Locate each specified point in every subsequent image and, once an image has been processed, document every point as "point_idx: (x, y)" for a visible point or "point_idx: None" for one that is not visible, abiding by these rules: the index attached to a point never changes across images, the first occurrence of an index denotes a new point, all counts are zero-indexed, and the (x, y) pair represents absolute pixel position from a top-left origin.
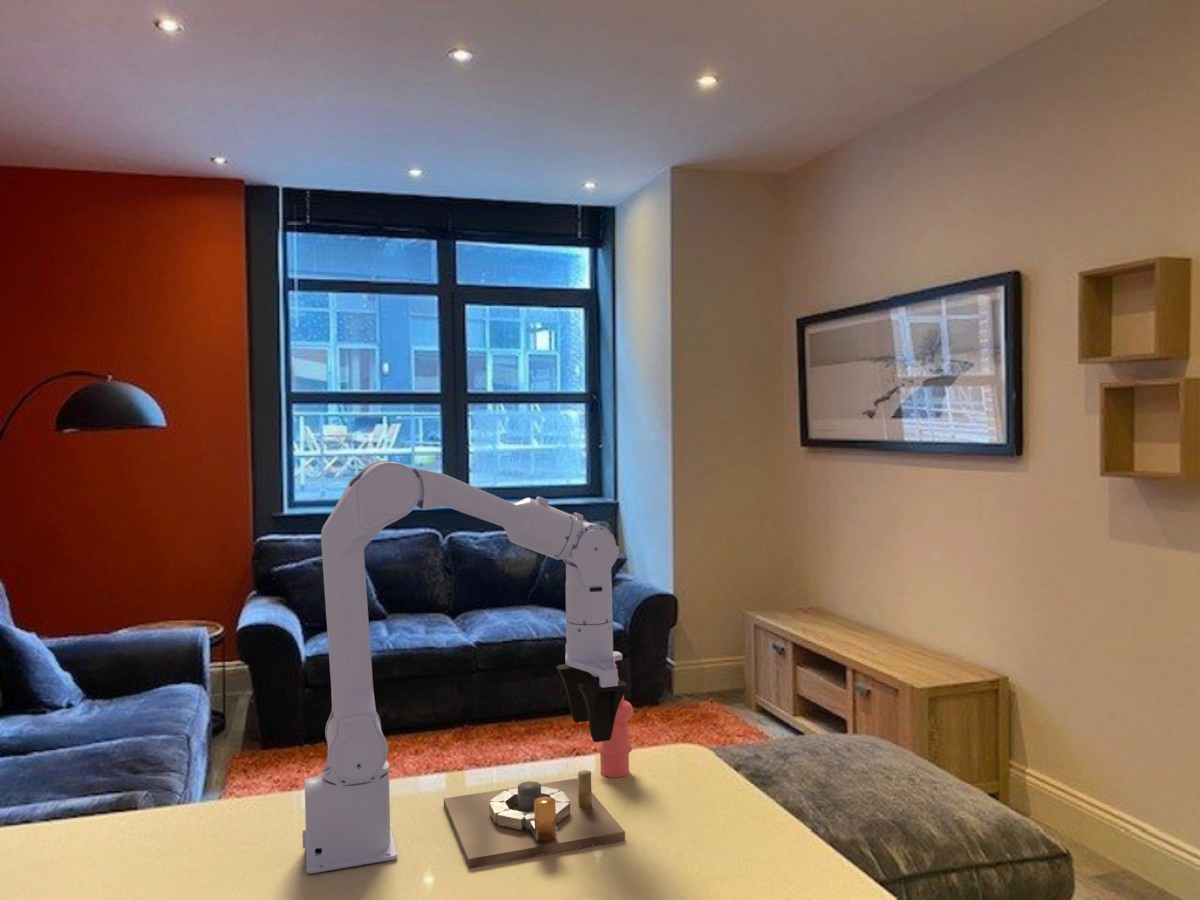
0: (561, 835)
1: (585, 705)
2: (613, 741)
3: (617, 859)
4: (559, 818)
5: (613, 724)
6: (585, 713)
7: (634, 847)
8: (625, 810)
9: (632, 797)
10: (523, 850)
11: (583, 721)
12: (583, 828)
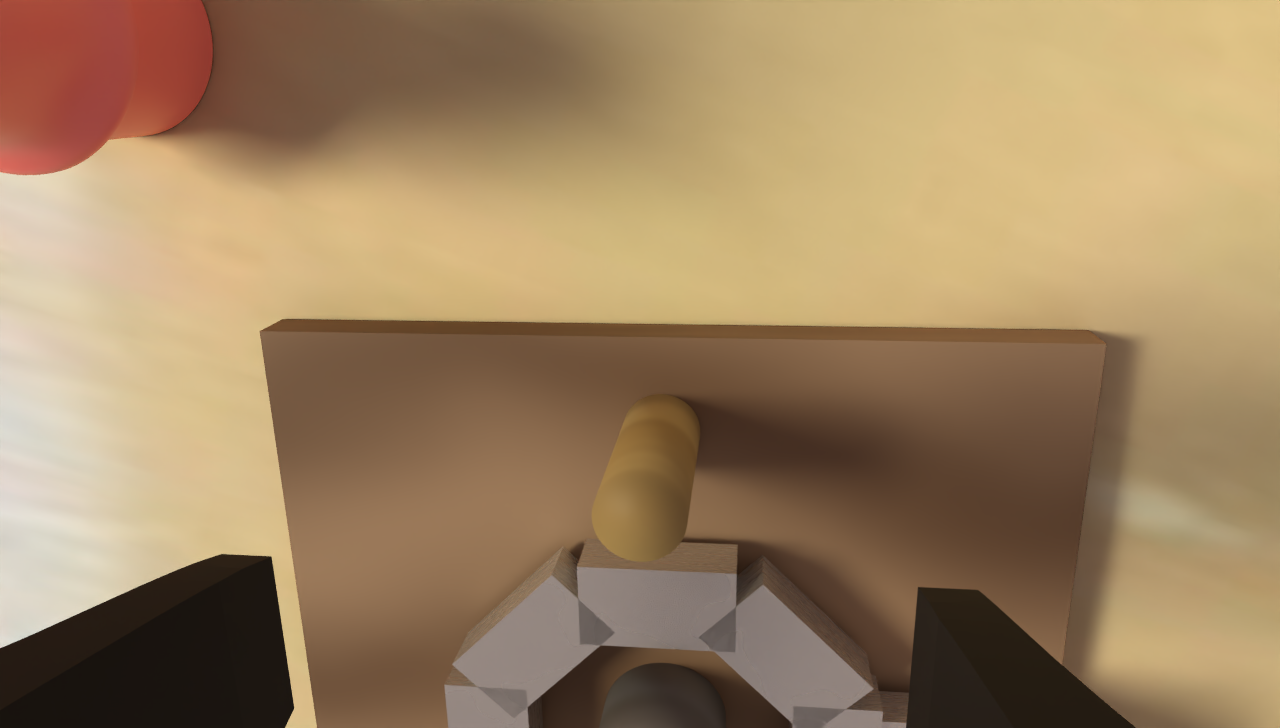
0: None
1: (165, 717)
2: (36, 76)
3: (1273, 444)
4: (849, 645)
5: (1069, 675)
6: (233, 658)
7: (1194, 312)
8: (711, 184)
9: (543, 71)
10: None
11: (277, 624)
12: (953, 537)
